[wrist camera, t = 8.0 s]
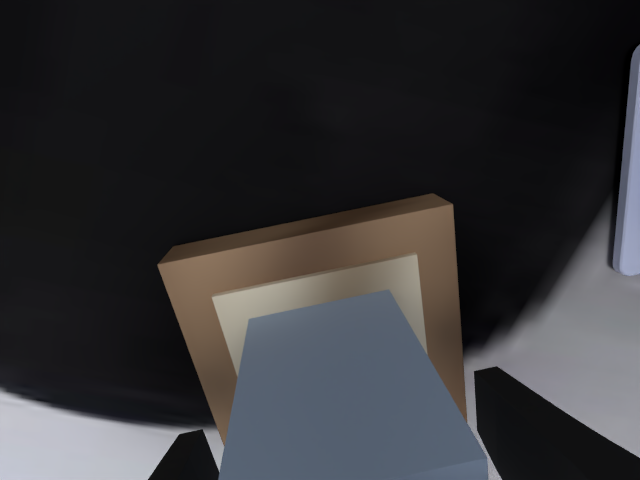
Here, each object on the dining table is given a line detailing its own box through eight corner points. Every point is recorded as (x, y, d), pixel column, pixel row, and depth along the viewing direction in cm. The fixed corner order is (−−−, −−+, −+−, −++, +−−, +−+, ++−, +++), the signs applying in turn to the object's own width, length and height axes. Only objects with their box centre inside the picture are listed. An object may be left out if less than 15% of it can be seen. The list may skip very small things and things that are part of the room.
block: (389, 289, 12) (487, 458, 6) (404, 400, 13) (494, 619, 7) (248, 318, 11) (210, 519, 6) (280, 427, 13) (275, 669, 7)
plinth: (432, 193, 12) (455, 205, 11) (450, 398, 15) (469, 433, 14) (173, 246, 12) (155, 267, 11) (241, 443, 15) (235, 484, 14)
